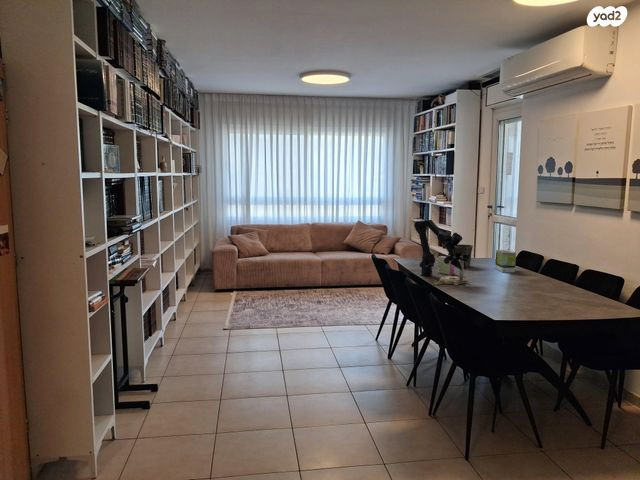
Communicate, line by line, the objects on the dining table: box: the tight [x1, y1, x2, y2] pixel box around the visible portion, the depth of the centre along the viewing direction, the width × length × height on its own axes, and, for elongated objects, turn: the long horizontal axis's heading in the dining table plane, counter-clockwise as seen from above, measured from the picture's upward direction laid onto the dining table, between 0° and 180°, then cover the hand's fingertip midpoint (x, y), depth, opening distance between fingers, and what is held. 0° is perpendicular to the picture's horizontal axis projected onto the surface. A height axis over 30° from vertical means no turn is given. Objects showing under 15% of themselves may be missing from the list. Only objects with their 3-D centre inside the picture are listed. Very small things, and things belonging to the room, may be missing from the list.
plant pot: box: [455, 243, 474, 268], centre depth 382 cm, size 16×16×16 cm
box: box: [437, 255, 455, 276], centre depth 354 cm, size 10×6×12 cm, turn 40°
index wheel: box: [435, 261, 470, 286], centre depth 323 cm, size 19×21×15 cm
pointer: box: [433, 280, 442, 286], centre depth 318 cm, size 5×2×2 cm, turn 118°
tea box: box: [494, 249, 517, 273], centre depth 363 cm, size 15×10×15 cm
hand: (463, 269), depth 315 cm, fingers open, 3 cm apart
